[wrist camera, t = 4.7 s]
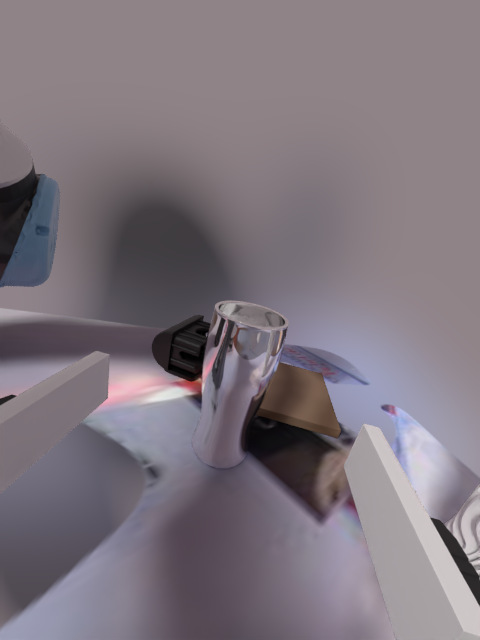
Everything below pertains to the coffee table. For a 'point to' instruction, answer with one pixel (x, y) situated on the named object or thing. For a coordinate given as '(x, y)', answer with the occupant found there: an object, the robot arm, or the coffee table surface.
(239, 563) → the coffee table surface
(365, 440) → the robot arm
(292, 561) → the coffee table surface
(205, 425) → the beer glass
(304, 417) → the walnut board
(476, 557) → the white ridged vase
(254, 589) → the coffee table surface
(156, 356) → the end cap
